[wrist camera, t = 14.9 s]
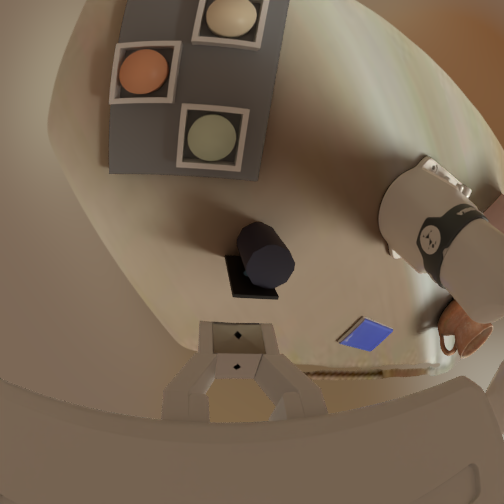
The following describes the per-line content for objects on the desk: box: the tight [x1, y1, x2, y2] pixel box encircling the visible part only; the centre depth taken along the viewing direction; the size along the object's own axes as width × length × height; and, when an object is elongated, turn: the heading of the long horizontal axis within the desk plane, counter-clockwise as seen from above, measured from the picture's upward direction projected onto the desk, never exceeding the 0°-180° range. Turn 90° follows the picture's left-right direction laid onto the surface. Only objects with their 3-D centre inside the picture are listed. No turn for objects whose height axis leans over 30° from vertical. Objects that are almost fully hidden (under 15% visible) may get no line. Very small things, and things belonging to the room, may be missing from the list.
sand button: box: [206, 0, 257, 39], centre depth 20 cm, size 5×5×2 cm
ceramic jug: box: [438, 299, 493, 359], centre depth 54 cm, size 18×14×14 cm
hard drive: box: [338, 316, 393, 351], centre depth 56 cm, size 2×8×12 cm
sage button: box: [188, 114, 236, 161], centre depth 27 cm, size 5×5×2 cm
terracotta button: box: [119, 49, 169, 94], centre depth 22 cm, size 5×5×2 cm
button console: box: [109, 0, 290, 181], centre depth 24 cm, size 18×24×4 cm
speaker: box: [225, 222, 295, 299], centre depth 35 cm, size 8×6×10 cm
